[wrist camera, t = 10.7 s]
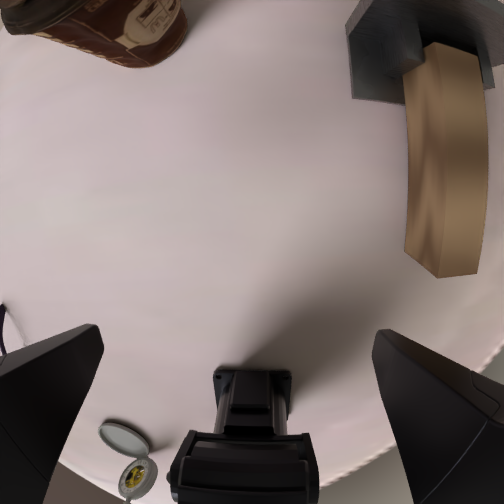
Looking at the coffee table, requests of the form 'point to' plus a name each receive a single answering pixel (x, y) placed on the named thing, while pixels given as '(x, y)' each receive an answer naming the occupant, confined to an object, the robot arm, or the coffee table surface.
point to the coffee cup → (103, 26)
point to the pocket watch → (133, 446)
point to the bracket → (418, 40)
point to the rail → (446, 161)
